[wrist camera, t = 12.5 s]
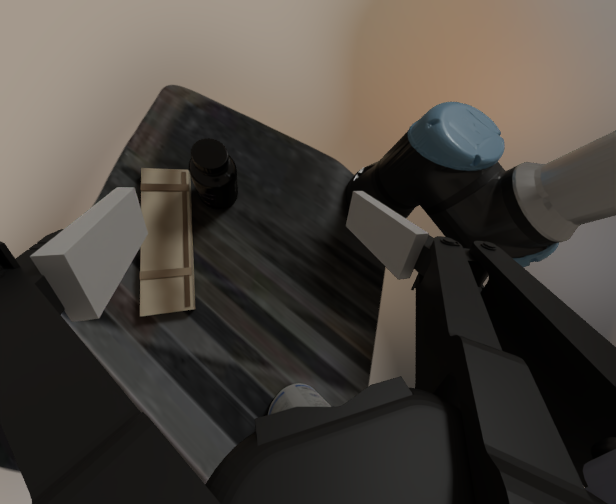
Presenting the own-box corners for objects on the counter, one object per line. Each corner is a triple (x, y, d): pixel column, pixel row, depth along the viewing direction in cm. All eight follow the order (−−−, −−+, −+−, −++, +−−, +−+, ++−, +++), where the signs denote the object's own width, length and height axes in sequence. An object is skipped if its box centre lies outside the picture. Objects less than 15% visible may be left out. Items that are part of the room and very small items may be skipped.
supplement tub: (279, 461, 35) (305, 559, 22) (257, 401, 36) (268, 459, 22) (331, 423, 39) (382, 488, 25) (309, 370, 40) (347, 404, 26)
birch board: (190, 175, 41) (188, 169, 39) (195, 309, 37) (192, 309, 35) (145, 174, 39) (140, 167, 37) (144, 316, 34) (139, 316, 33)
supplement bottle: (213, 170, 43) (204, 122, 32) (244, 190, 44) (246, 150, 32) (190, 196, 40) (170, 154, 29) (223, 217, 41) (217, 185, 30)
